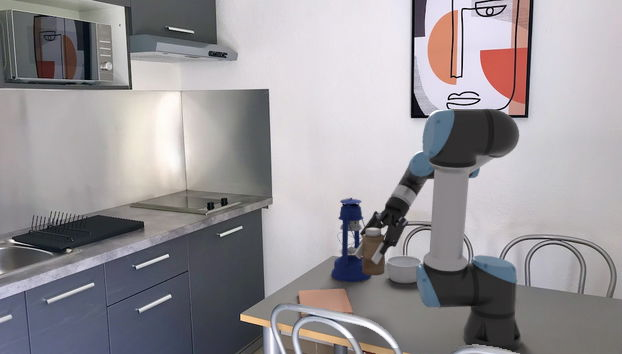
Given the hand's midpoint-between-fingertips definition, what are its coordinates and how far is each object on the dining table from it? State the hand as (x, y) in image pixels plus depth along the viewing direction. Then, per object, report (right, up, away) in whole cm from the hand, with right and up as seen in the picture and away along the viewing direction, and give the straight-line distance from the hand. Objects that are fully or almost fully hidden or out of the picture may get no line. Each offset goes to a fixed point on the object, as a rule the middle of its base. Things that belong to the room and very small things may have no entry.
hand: (365, 259), depth 169 cm
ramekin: (+17, -12, +29) cm, 36 cm away
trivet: (-13, -16, +6) cm, 21 cm away
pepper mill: (+3, -5, +3) cm, 6 cm away
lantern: (-2, -12, +34) cm, 36 cm away
